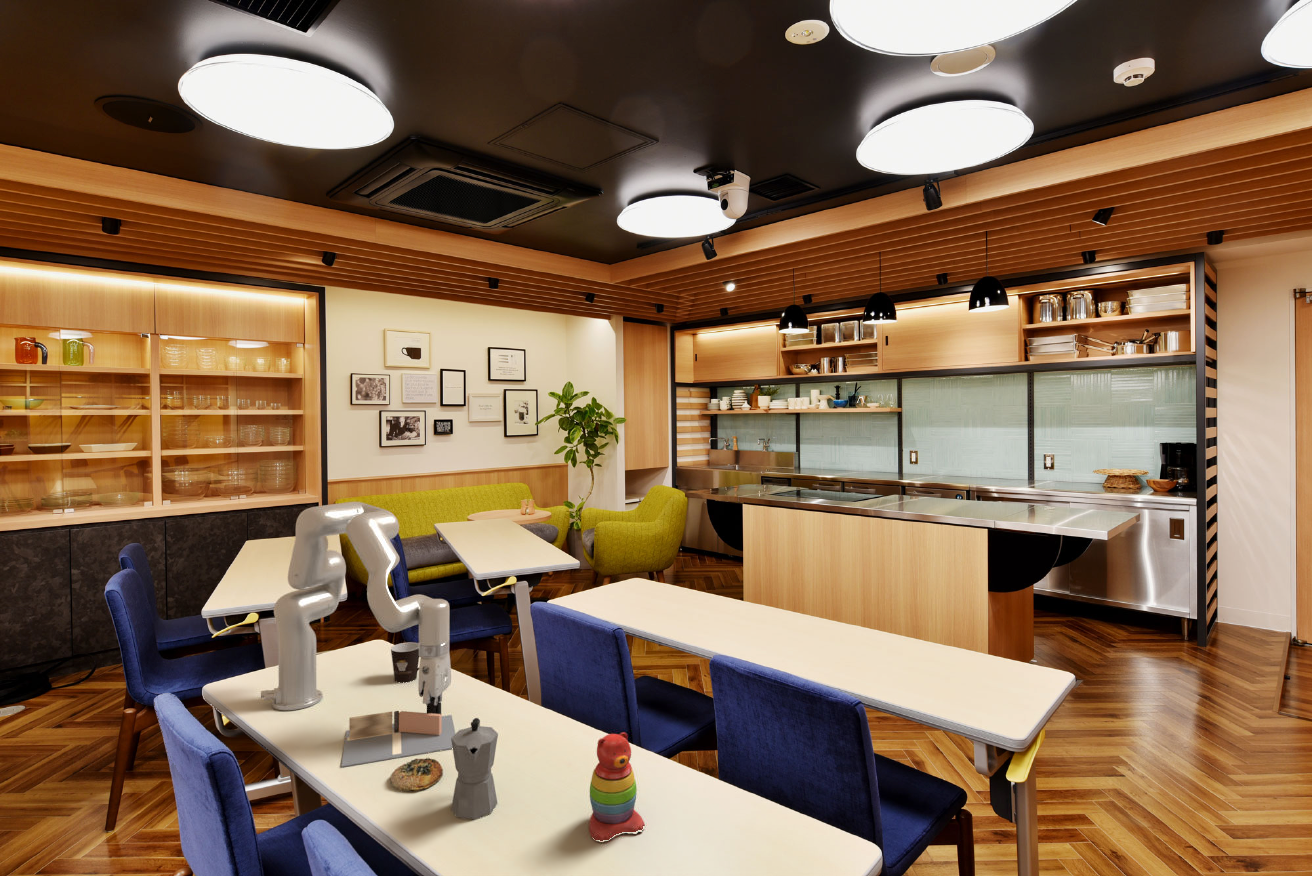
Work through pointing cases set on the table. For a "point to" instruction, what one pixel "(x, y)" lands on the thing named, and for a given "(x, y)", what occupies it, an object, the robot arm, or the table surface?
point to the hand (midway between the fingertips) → (433, 718)
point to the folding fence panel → (420, 722)
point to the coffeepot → (474, 771)
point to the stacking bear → (613, 790)
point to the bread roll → (417, 774)
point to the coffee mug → (405, 661)
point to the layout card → (396, 745)
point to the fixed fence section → (373, 725)
